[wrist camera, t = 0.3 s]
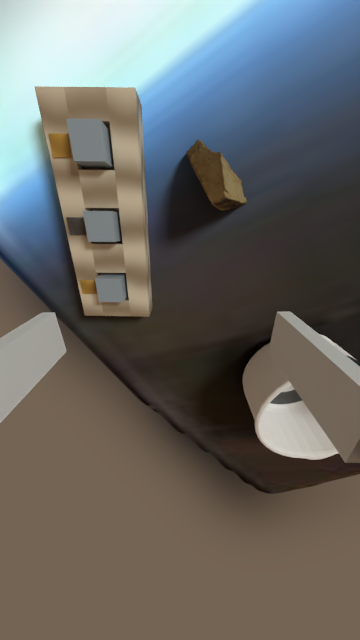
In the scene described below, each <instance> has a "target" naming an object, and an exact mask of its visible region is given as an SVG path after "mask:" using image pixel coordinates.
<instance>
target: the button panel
mask: <svg viewBox="0 0 360 640" xmlns="http://www.w3.org/2000/svg"><path fill="white" fill-rule="evenodd" d="M35 91H36V96H37V100H38V105H39V109H40V114H41V118H42V123H43V127H44V132H45V137H46V141H47V146H48V150H49V155H50V159H51V164H52V168H53V173H54V177H55V182H56V187H57V191H58V196H59V200H60V205H61V209H62V214H63V218H64V223H65V227H66V232H67V237H68V241H69V246H70V250H71V255H72V259H73V264H74V268H75V273H76V278H77V282H78V287H79V291H80V296H81V300H82V305H83V309H84V314H85V315H87V316H150V313H151V310H152V294H151V275H150V256H149V238H148V219H147V200H146V182H145V163H144V144H143V126H142V107H141V103H140V100H139V97H138V94H137V92H136V89H135V88H116V87H35ZM66 119H101V121H102V122H103V123H104V125H105V126H106V127H107V128H108V130H109V131H110V138H111V148H112V157H113V166H114V168H85V167H83V166H81V165H80V164H78V163H76V162H75V161H74V159H73V154H72V148H71V143H70V137H69V131H68V126H67V120H66ZM83 211H114V212H119V221H120V230H121V239H122V240H121V241H117V242H88V237H87V232H86V226H85V221H84V215H83ZM101 274H125V275H126V285H127V294H128V296H127V297H126V299H125V300H124V301H123V302H99V299H98V293H97V288H96V282H95V278H96V277H98V276H100V275H101Z"/></svg>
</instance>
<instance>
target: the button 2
mask: <svg viewBox="0 0 360 640" xmlns="http://www.w3.org/2000/svg"><path fill="white" fill-rule="evenodd" d="M95 282H96V288H97V293H98V299H99V302H123V301H124V300H125V299H126V297H127V296H128V294H127V285H126V275H125V274H101V275H100V276H98V277H96V278H95Z"/></svg>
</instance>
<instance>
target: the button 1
mask: <svg viewBox="0 0 360 640" xmlns="http://www.w3.org/2000/svg"><path fill="white" fill-rule="evenodd" d="M66 120H67V126H68V131H69V137H70V143H71V148H72V154H73V159H74V161H75V162H76V163H78V164H80V165H81V166H83V167H85V168H114V166H113V157H112V148H111V138H110V131H109V130H108V128H107V127H106V126H105V125H104V123H103V122H102V121H101V119H66Z"/></svg>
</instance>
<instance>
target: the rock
mask: <svg viewBox="0 0 360 640" xmlns="http://www.w3.org/2000/svg"><path fill="white" fill-rule="evenodd" d="M186 155H187V157H188V159H189V161H190V163H191V165H192V167H193V170H194V171H195V173H196V175H197V177H198V179H199V180H200V183H201V185H202V186H203V188H204V191H205V192H206V194H207V196H208V198H209V200H210V201H211V203H212V205H213V206H215V207H216V208H218V209H219V210H221V211H223V210H230V209H235V208H238V207H240V206H242V205H243V204H246V201H247V200H246V198H245V197H244V196H243V190H242V186H241V180H240V179H239V178H238V177H237V175H236V174H235V173H234V172H233V171H232V170H231V168H230V166H229V164H228V162H227V161H226V160H225V159H224V158H223V156H222V154H221V153H220V152H212V151H211V150H210V149H208V148H207V147H206V145H205V144H204V143H203V142H202V141H200V140H197V141H196V143H195V144H194V145H193V146H192V147H191V148H190V149H189V150H188V151H187V154H186Z"/></svg>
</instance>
